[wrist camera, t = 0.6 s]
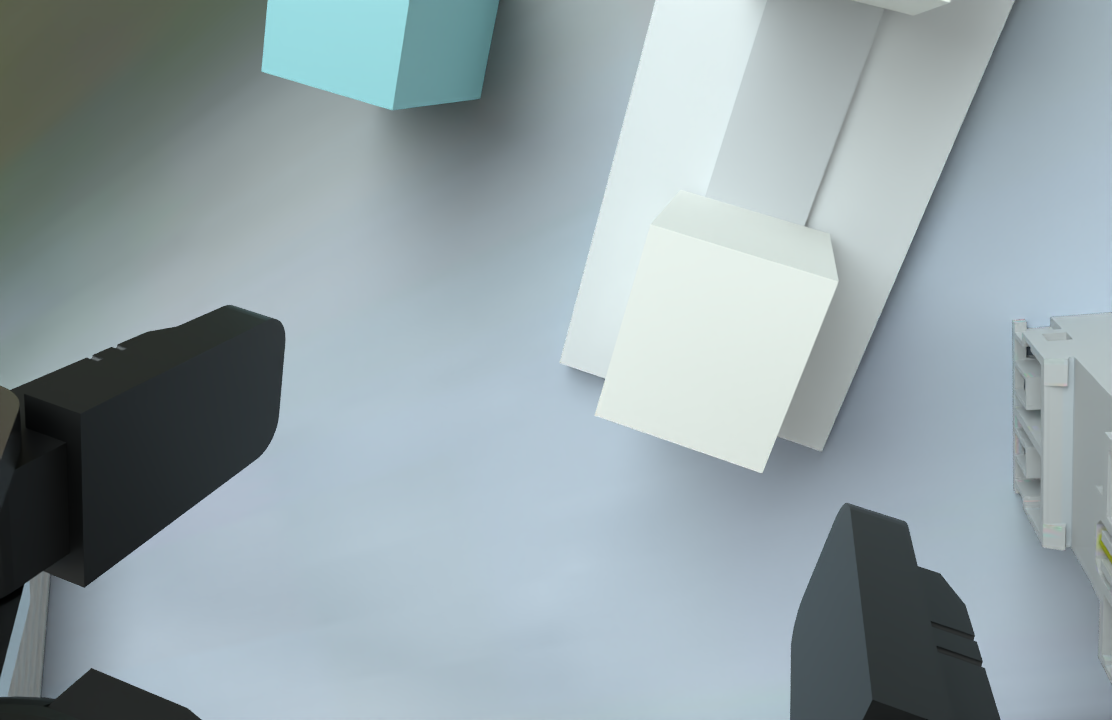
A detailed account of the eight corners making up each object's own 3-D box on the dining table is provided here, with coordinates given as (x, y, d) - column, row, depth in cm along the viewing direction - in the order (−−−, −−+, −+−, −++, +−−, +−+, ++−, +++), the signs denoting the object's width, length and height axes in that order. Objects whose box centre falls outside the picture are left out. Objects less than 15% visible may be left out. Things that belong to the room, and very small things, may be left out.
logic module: (396, -82, 34) (279, -123, 26) (509, -53, 33) (422, -87, 25) (375, 68, 36) (261, 71, 28) (480, 98, 35) (392, 110, 28)
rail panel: (748, -328, 28) (729, -489, 20) (1117, -258, 26) (1265, -403, 18) (566, 354, 38) (503, 436, 30) (821, 439, 36) (828, 552, 28)
